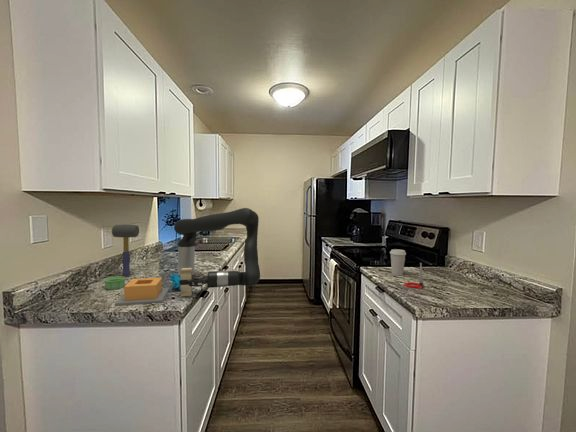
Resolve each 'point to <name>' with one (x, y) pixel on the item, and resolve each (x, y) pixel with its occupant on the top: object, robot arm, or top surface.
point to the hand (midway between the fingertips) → (180, 281)
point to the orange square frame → (143, 292)
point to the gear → (175, 280)
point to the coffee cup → (397, 261)
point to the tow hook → (416, 283)
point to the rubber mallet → (125, 243)
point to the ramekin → (114, 282)
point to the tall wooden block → (186, 275)
